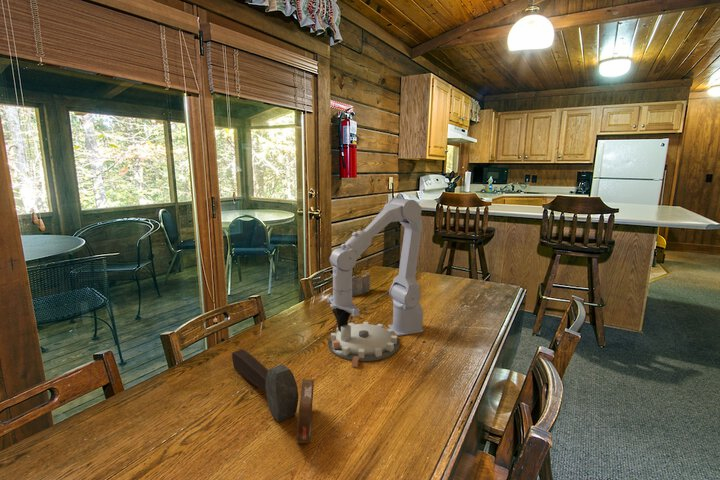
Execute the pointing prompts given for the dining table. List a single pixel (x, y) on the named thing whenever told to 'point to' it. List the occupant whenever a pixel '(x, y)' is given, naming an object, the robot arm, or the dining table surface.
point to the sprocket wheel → (363, 339)
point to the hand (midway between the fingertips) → (342, 330)
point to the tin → (305, 411)
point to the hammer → (270, 384)
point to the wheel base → (367, 358)
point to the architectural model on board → (361, 284)
